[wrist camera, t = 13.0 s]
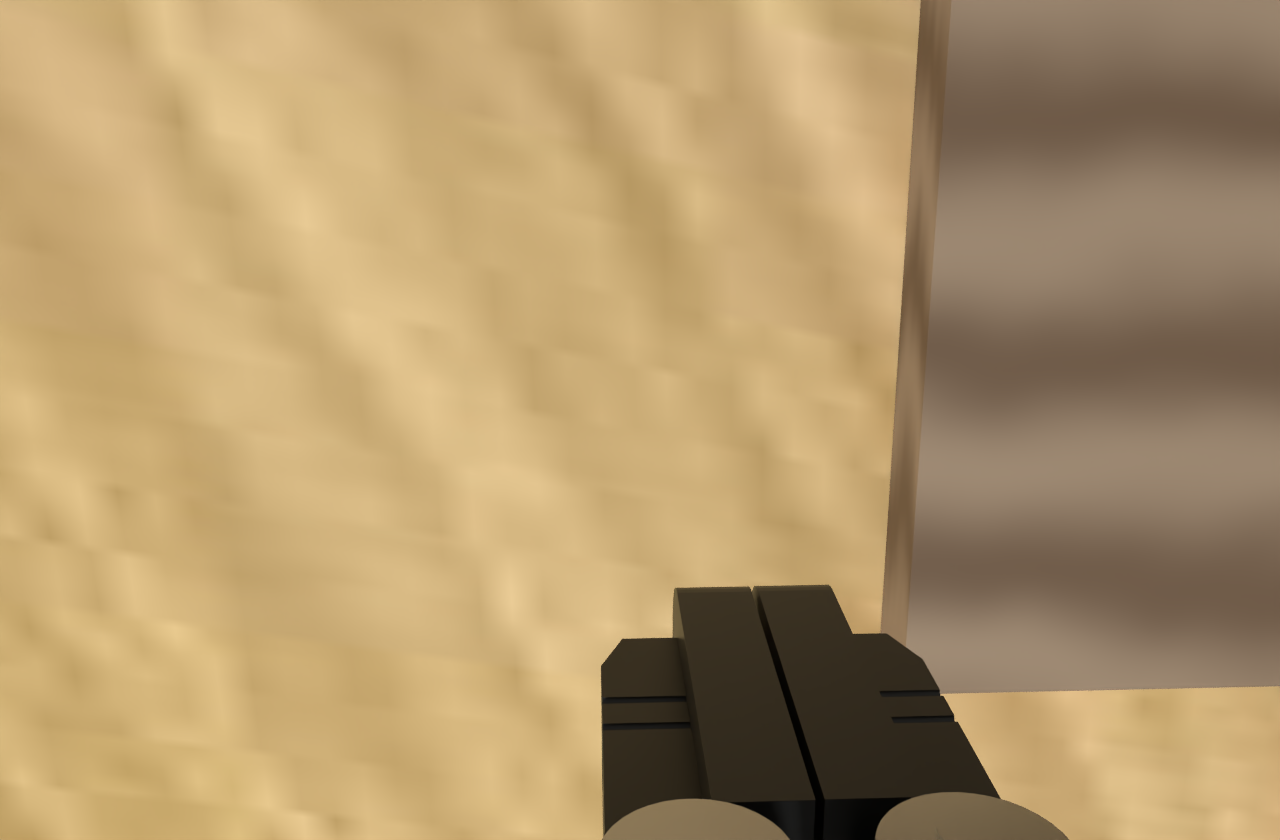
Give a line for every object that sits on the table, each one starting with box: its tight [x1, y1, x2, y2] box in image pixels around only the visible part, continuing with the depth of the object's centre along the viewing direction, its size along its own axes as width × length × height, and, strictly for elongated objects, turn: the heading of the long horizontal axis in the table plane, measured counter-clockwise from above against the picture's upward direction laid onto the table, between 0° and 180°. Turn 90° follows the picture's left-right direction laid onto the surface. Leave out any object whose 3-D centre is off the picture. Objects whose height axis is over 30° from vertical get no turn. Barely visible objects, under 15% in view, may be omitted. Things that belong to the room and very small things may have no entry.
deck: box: [881, 0, 1280, 694], centre depth 35 cm, size 22×14×3 cm, turn 0°
